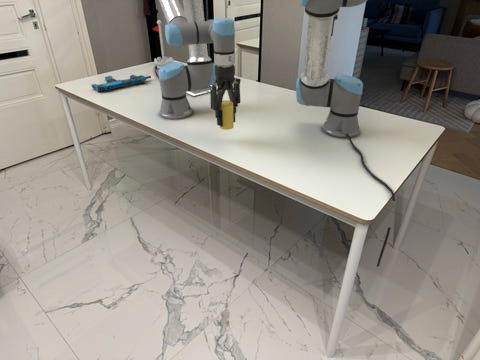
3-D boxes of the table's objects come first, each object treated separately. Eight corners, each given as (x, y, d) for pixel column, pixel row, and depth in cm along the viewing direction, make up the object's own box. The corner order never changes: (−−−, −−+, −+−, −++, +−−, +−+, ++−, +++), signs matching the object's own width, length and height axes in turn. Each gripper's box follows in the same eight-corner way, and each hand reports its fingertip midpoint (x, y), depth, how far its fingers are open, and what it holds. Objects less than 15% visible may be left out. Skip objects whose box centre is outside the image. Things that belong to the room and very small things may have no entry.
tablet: (164, 83, 207) (164, 82, 207) (191, 76, 218) (191, 76, 218) (193, 96, 187) (193, 95, 187) (222, 88, 198) (222, 88, 198)
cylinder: (233, 129, 136) (233, 105, 130) (219, 129, 135) (218, 105, 130) (233, 123, 140) (233, 100, 135) (219, 123, 140) (218, 100, 135)
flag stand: (171, 63, 246) (167, 18, 230) (175, 68, 236) (170, 21, 220) (153, 65, 242) (147, 19, 226) (156, 70, 232) (150, 22, 216)
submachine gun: (137, 69, 223) (155, 75, 206) (138, 75, 225) (156, 81, 208) (84, 79, 204) (99, 87, 188) (85, 85, 206) (101, 94, 190)
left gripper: (210, 71, 117) (213, 132, 130) (250, 62, 127) (249, 120, 140) (197, 67, 122) (201, 126, 134) (237, 58, 132) (238, 114, 145)
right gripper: (310, -20, 159) (306, 29, 171) (333, -17, 139) (326, 38, 150) (325, -20, 160) (320, 28, 172) (350, -17, 140) (342, 38, 152)
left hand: (226, 123), depth 137 cm, fingers closed on cylinder, 6 cm apart
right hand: (323, 33), depth 161 cm, fingers open, 13 cm apart
